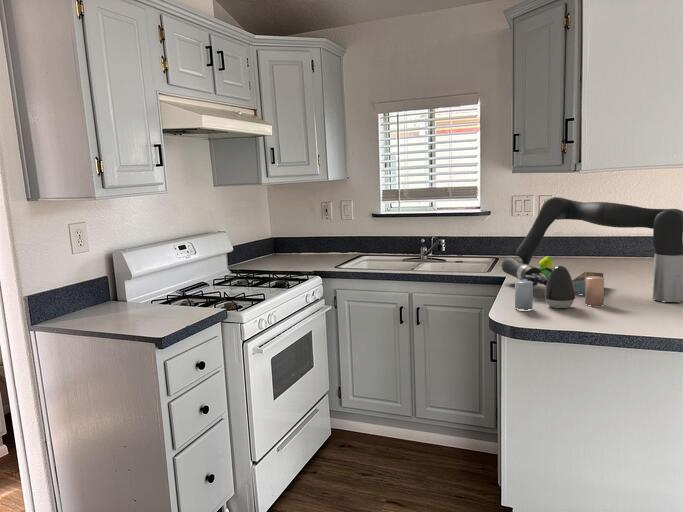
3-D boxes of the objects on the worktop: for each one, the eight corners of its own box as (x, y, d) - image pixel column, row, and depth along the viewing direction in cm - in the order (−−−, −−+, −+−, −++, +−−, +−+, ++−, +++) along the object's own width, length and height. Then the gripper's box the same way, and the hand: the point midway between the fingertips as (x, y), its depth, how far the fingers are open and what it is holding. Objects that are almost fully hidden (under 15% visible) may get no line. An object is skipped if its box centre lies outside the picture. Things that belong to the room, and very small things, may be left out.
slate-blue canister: (535, 308, 188) (535, 281, 186) (527, 312, 183) (527, 284, 182) (520, 306, 192) (520, 279, 190) (511, 309, 188) (511, 282, 186)
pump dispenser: (549, 302, 195) (549, 262, 193) (578, 305, 189) (579, 264, 187) (539, 308, 188) (540, 267, 185) (569, 312, 181) (570, 269, 179)
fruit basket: (546, 277, 241) (547, 253, 239) (560, 280, 232) (560, 255, 230) (526, 279, 237) (526, 255, 235) (539, 283, 229) (539, 257, 227)
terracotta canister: (606, 304, 189) (606, 277, 187) (599, 307, 185) (600, 280, 183) (589, 302, 193) (589, 275, 192) (582, 305, 189) (582, 278, 188)
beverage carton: (569, 294, 206) (570, 278, 205) (583, 285, 221) (583, 270, 220) (591, 297, 201) (592, 280, 200) (604, 287, 216) (604, 272, 215)
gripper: (513, 266, 212) (531, 274, 195) (545, 264, 213) (565, 272, 196) (513, 284, 214) (530, 293, 196) (545, 282, 214) (565, 291, 197)
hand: (548, 283), depth 196 cm, fingers closed
